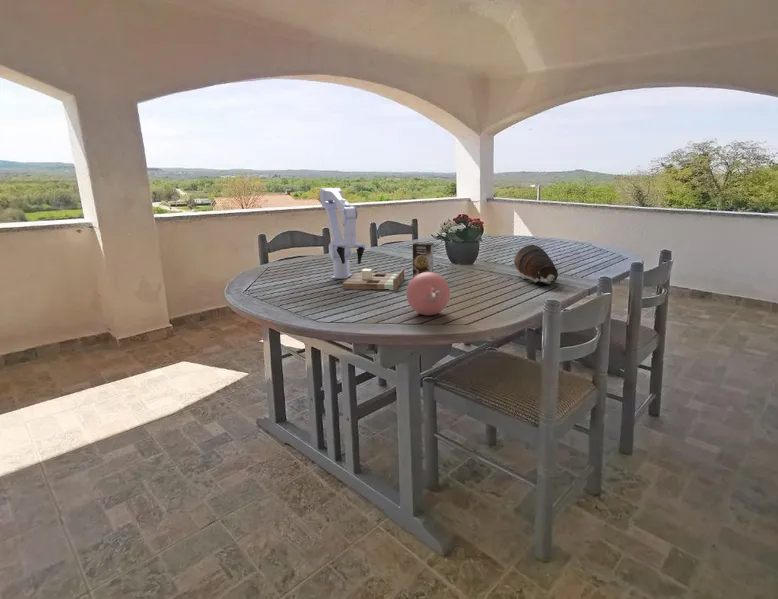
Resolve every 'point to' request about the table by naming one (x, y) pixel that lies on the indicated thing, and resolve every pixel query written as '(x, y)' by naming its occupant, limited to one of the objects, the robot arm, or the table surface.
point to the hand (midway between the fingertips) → (351, 263)
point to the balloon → (428, 293)
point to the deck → (375, 281)
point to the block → (366, 273)
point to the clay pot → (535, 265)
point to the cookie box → (422, 258)
